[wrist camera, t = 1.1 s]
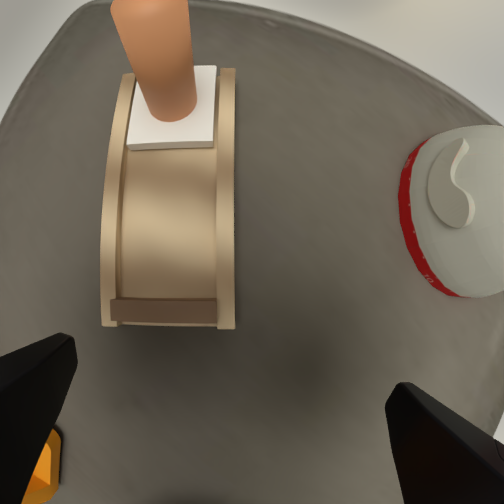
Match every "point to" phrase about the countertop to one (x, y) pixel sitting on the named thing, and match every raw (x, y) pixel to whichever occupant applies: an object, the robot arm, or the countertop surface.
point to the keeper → (165, 76)
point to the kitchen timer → (456, 210)
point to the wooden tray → (169, 224)
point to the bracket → (45, 473)
